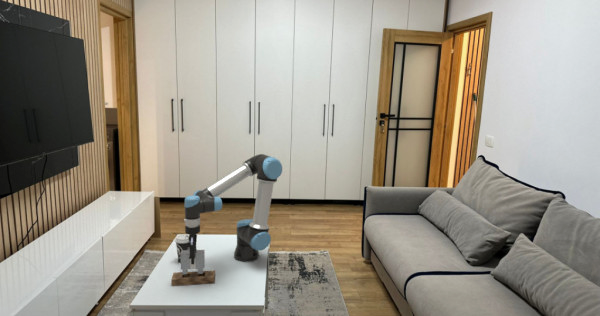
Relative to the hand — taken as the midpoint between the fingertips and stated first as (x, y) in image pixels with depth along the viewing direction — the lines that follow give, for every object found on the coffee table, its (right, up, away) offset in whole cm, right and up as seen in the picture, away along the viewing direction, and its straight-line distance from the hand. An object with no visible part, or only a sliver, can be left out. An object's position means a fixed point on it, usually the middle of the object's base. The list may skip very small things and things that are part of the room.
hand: (193, 267), depth 213 cm
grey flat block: (0, -3, +1) cm, 3 cm away
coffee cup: (-12, -3, +25) cm, 28 cm away
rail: (0, -8, +2) cm, 8 cm away
